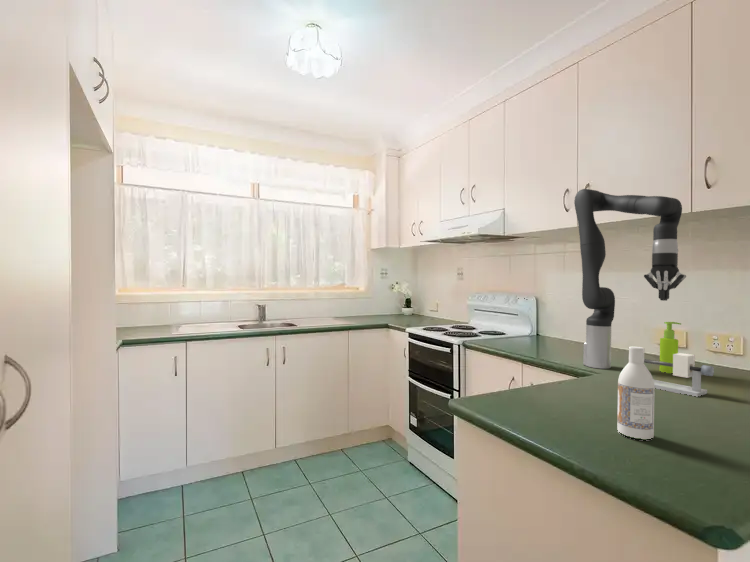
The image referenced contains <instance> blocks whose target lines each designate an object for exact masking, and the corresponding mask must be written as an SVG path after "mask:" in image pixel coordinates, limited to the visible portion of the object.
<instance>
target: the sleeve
mask: <svg viewBox="0 0 750 562" xmlns="http://www.w3.org/2000/svg"><path fill="white" fill-rule="evenodd" d="M695 360H696V355H695V354H691V353H685V352H678V353H677V354H673V374H672V376H674V377H675V376H676V377H681V378H687V379H688V378H692V371H693V370H690V366H693V367H696V366H695V362H696V361H695Z"/></svg>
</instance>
